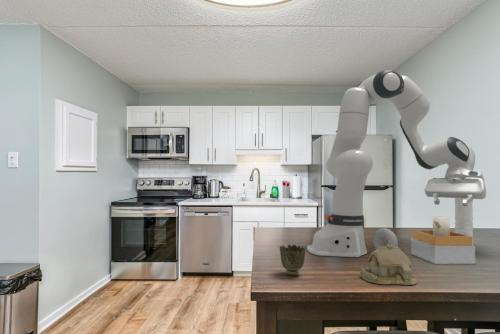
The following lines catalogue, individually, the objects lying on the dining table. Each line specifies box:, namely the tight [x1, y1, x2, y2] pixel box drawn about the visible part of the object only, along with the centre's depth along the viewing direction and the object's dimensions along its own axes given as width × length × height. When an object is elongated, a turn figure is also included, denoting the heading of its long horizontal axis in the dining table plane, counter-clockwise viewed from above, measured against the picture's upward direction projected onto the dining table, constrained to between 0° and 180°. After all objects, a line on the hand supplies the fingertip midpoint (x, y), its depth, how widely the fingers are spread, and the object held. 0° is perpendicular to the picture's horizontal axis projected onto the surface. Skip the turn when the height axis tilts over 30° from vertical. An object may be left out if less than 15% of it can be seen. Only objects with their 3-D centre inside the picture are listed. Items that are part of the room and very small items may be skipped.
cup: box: [279, 243, 307, 277], centre depth 92 cm, size 8×7×8 cm
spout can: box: [432, 215, 451, 236], centre depth 112 cm, size 9×5×8 cm, turn 133°
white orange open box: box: [410, 229, 476, 265], centre depth 113 cm, size 17×14×9 cm
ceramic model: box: [360, 243, 418, 286], centre depth 89 cm, size 14×11×10 cm
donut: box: [372, 227, 399, 250], centre depth 117 cm, size 10×4×10 cm, turn 27°
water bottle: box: [454, 198, 474, 243], centre depth 138 cm, size 9×6×25 cm
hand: (450, 204), depth 120 cm, fingers open, 8 cm apart
